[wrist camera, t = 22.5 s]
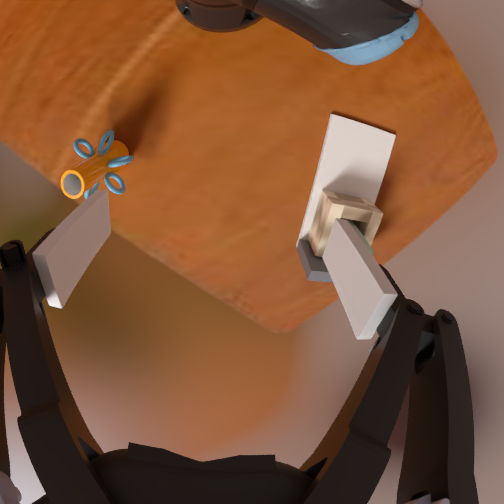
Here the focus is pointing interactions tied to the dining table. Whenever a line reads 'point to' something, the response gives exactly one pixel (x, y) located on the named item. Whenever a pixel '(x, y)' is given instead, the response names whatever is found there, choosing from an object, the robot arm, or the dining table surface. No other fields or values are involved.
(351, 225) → the dowel
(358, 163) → the backstop
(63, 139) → the dining table surface
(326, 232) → the block
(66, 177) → the orange ringed tube
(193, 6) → the robot arm
